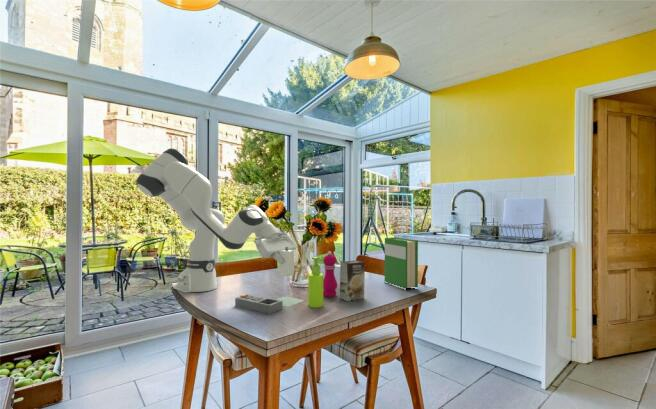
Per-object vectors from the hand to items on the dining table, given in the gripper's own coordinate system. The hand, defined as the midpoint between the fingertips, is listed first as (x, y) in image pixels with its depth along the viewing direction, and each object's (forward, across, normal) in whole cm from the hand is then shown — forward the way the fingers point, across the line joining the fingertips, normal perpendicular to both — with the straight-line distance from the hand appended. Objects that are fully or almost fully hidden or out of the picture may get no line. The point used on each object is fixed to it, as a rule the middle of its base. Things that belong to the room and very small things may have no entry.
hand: (287, 261), depth 132 cm
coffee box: (+26, +21, -1) cm, 34 cm away
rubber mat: (+12, 0, +13) cm, 17 cm away
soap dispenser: (+21, +3, +4) cm, 22 cm away
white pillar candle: (+3, 0, +4) cm, 5 cm away
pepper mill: (+18, +21, +6) cm, 28 cm away
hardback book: (+35, +54, -10) cm, 65 cm away
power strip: (+9, -12, +16) cm, 21 cm away
